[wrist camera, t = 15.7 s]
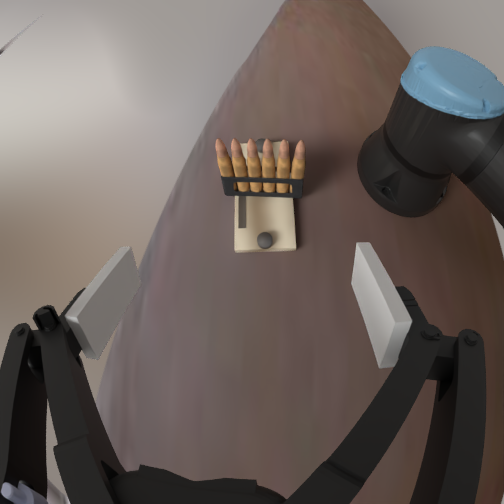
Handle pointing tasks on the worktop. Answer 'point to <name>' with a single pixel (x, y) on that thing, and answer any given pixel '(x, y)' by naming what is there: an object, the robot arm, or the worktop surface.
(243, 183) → the ammunition clip
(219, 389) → the worktop surface
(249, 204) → the plate
